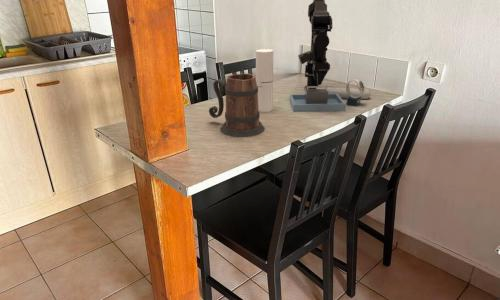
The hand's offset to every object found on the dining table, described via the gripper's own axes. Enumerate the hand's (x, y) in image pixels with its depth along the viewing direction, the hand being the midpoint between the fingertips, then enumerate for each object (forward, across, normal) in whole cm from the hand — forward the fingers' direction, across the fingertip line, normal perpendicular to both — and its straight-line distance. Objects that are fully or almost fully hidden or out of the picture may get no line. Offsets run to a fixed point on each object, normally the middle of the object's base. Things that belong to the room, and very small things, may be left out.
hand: (317, 82), depth 160 cm
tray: (+10, 0, 0) cm, 11 cm away
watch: (+11, -1, +17) cm, 20 cm away
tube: (+11, -11, +14) cm, 21 cm away
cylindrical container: (+11, +4, -23) cm, 26 cm away
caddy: (+10, 0, 0) cm, 10 cm away
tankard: (+11, +25, -35) cm, 44 cm away
